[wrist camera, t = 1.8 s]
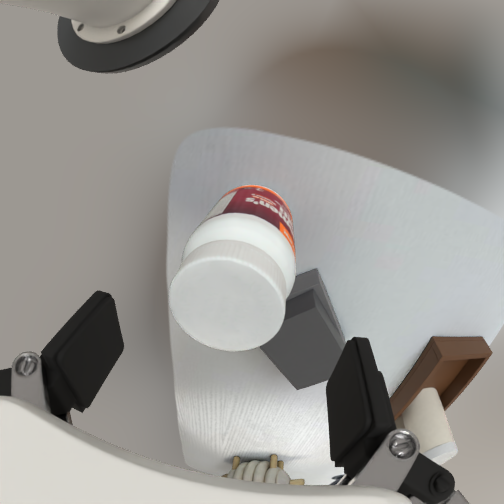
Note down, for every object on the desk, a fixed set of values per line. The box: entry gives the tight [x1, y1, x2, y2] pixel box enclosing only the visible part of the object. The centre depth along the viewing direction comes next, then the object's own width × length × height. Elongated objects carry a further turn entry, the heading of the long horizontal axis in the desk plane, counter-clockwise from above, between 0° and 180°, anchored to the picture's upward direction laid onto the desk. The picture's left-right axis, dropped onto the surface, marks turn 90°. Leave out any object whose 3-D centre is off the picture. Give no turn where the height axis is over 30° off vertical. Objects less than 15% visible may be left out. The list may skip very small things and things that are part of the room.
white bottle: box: [402, 388, 458, 465], centre depth 24 cm, size 6×6×11 cm
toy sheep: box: [221, 455, 305, 485], centre depth 37 cm, size 11×17×11 cm, turn 116°
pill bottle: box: [169, 185, 296, 351], centre depth 17 cm, size 6×6×11 cm
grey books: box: [259, 269, 346, 390], centre depth 23 cm, size 9×6×5 cm
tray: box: [390, 337, 492, 420], centre depth 29 cm, size 28×10×3 cm, turn 173°
